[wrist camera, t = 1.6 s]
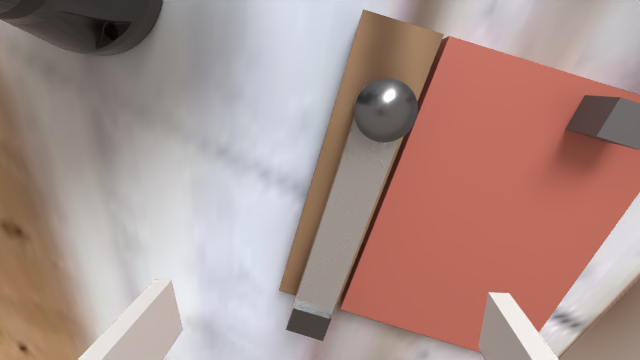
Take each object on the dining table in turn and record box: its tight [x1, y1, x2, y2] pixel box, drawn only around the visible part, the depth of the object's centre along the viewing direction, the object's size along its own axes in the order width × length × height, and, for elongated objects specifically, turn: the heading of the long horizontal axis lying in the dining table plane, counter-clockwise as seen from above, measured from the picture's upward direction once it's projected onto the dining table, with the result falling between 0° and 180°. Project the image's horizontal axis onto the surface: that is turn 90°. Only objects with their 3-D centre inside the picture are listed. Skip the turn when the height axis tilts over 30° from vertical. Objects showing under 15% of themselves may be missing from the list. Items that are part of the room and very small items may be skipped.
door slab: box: [340, 36, 640, 353], centre depth 29 cm, size 22×30×6 cm
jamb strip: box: [279, 10, 444, 308], centre depth 31 cm, size 7×30×3 cm, turn 163°
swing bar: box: [286, 78, 418, 341], centre depth 28 cm, size 26×5×4 cm, turn 163°
